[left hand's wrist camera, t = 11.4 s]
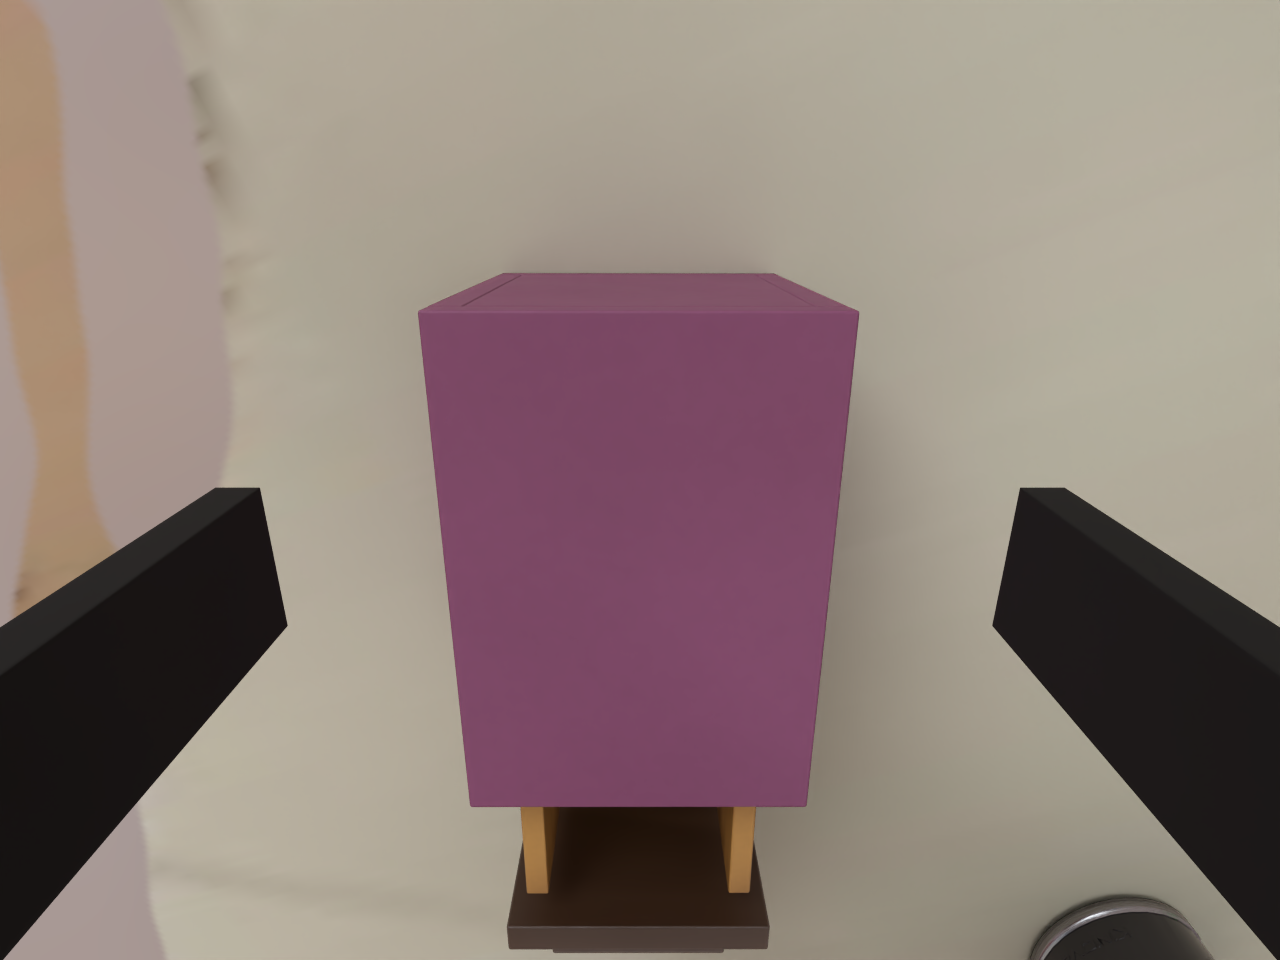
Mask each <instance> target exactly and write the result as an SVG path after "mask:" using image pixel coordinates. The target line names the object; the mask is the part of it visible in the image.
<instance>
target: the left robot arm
mask: <svg viewBox="0 0 1280 960" xmlns="http://www.w3.org/2000/svg"><path fill="white" fill-rule="evenodd" d="M287 626H288V625H287V620H286V615H285V610H284V605H283V600H282V596H281V591H280V586H279V581H278V576H277V571H276V566H275V561H274V556H273V551H272V546H271V541H270V536H269V531H268V526H267V521H266V516H265V511H264V506H263V501H262V496H261V491H260V488H214V489H213V490H211V491H210V492H208V493H207V494H205V495H203V496H202V497H200V498H199V499H197V500H196V501H194V502H193V503H191V504H190V505H188V506H187V507H185V508H183V509H182V510H181V511H179V512H177V513H176V514H174V515H173V516H171V517H170V518H168V519H167V520H165V521H163V522H162V523H160V524H159V525H157V526H156V527H154V528H153V529H151V530H150V531H148V532H147V533H145V534H143V535H142V536H140V537H139V538H137V539H136V540H134V541H133V542H131V543H130V544H128V545H126V546H125V547H123V548H122V549H120V550H119V551H117V552H116V553H114V554H113V555H111V556H109V557H108V558H106V559H105V560H103V561H102V562H100V563H99V564H97V565H96V566H94V567H93V568H91V569H89V570H88V571H86V572H85V573H83V574H82V575H80V576H79V577H77V578H76V579H74V580H73V581H71V582H69V583H68V584H66V585H65V586H63V587H62V588H60V589H59V590H57V591H56V592H54V593H52V594H51V595H49V596H48V597H46V598H45V599H43V600H42V601H40V602H39V603H37V604H36V605H34V606H32V607H31V608H29V609H28V610H26V611H25V612H23V613H22V614H20V615H19V616H17V617H16V618H14V619H12V620H11V621H9V622H8V623H6V624H5V625H3V626H2V627H0V960H3V959H4V958H5V957H6V956H7V954H8V953H9V952H10V951H11V950H12V948H13V947H14V946H15V945H16V944H17V943H18V942H19V940H20V939H21V938H22V937H23V936H24V935H25V933H26V932H27V931H28V930H29V929H30V927H31V926H32V925H33V924H34V923H35V922H36V920H37V919H38V918H39V917H40V916H41V915H42V913H43V912H44V911H45V910H46V909H47V908H48V906H49V905H50V904H51V903H52V902H53V900H54V899H55V898H56V897H57V896H58V895H59V893H60V892H61V891H62V890H63V889H64V888H65V886H66V885H67V884H68V883H69V882H70V880H71V879H72V878H73V877H74V876H75V875H76V873H77V872H78V871H79V870H80V869H81V868H82V866H83V865H84V864H85V863H86V862H87V861H88V859H89V858H90V857H91V856H92V855H93V853H94V852H95V851H96V850H97V849H98V848H99V847H100V845H101V844H102V843H103V842H104V841H105V839H106V838H107V837H108V836H109V835H110V834H111V832H112V831H113V830H114V829H115V828H116V827H117V825H118V824H119V823H120V822H121V821H122V820H123V818H124V817H125V816H126V815H127V814H128V812H129V811H130V810H131V809H132V808H133V807H134V805H135V804H136V803H137V802H138V801H139V800H140V798H141V797H142V796H143V795H144V794H145V793H146V791H147V790H148V789H149V788H150V787H151V785H152V784H153V783H154V782H155V781H156V780H157V778H158V777H159V776H160V775H161V774H162V773H163V771H164V770H165V769H166V768H167V767H168V766H169V764H170V763H171V762H172V761H173V760H174V758H175V757H176V756H177V755H178V754H179V753H180V751H181V750H182V749H183V748H184V747H185V746H186V744H187V743H188V742H189V741H190V740H191V739H192V737H193V736H194V735H195V734H196V733H197V731H198V730H199V729H200V728H201V727H202V726H203V724H204V723H205V722H206V721H207V720H208V719H209V717H210V716H211V715H212V714H213V713H214V712H215V710H216V709H217V708H218V707H219V706H220V705H221V703H222V702H223V701H224V700H225V699H226V697H227V696H228V695H229V694H230V693H231V692H232V690H233V689H234V688H235V687H236V686H237V685H238V683H239V682H240V681H241V680H242V679H243V678H244V676H245V675H246V674H247V673H248V672H249V670H250V669H251V668H252V667H253V666H254V665H255V663H256V662H257V661H258V660H259V659H260V658H261V656H262V655H263V654H264V653H265V652H266V651H267V649H268V648H269V647H270V646H271V645H272V643H273V642H274V641H275V640H276V639H277V638H278V636H279V635H280V634H281V633H282V632H283V631H284V629H285V628H286V627H287ZM992 626H993V627H994V628H995V629H996V631H997V632H998V633H999V634H1000V635H1001V636H1002V638H1003V639H1004V640H1005V641H1006V642H1007V643H1008V645H1009V646H1010V647H1011V648H1012V649H1013V651H1014V652H1015V653H1016V654H1017V655H1018V656H1019V658H1020V659H1021V660H1022V661H1023V662H1024V663H1025V665H1026V666H1027V667H1028V668H1029V669H1030V670H1031V672H1032V673H1033V674H1034V675H1035V676H1036V678H1037V679H1038V680H1039V681H1040V682H1041V683H1042V685H1043V686H1044V687H1045V688H1046V689H1047V690H1048V692H1049V693H1050V694H1051V695H1052V696H1053V697H1054V699H1055V700H1056V701H1057V702H1058V703H1059V705H1060V706H1061V707H1062V708H1063V709H1064V710H1065V712H1066V713H1067V714H1068V715H1069V716H1070V717H1071V719H1072V720H1073V721H1074V722H1075V723H1076V724H1077V726H1078V727H1079V728H1080V729H1081V730H1082V731H1083V733H1084V734H1085V735H1086V736H1087V737H1088V739H1089V740H1090V741H1091V742H1092V743H1093V744H1094V746H1095V747H1096V748H1097V749H1098V750H1099V751H1100V753H1101V754H1102V755H1103V756H1104V757H1105V758H1106V760H1107V761H1108V762H1109V763H1110V764H1111V766H1112V767H1113V768H1114V769H1115V770H1116V771H1117V773H1118V774H1119V775H1120V776H1121V777H1122V778H1123V780H1124V781H1125V782H1126V783H1127V784H1128V785H1129V787H1130V788H1131V789H1132V790H1133V791H1134V793H1135V794H1136V795H1137V796H1138V797H1139V798H1140V800H1141V801H1142V802H1143V803H1144V804H1145V805H1146V807H1147V808H1148V809H1149V810H1150V811H1151V812H1152V814H1153V815H1154V816H1155V817H1156V818H1157V820H1158V821H1159V822H1160V823H1161V824H1162V825H1163V827H1164V828H1165V829H1166V830H1167V831H1168V832H1169V834H1170V835H1171V836H1172V837H1173V838H1174V839H1175V841H1176V842H1177V843H1178V844H1179V845H1180V847H1181V848H1182V849H1183V850H1184V851H1185V852H1186V854H1187V855H1188V856H1189V857H1190V858H1191V859H1192V861H1193V862H1194V863H1195V864H1196V865H1197V866H1198V868H1199V869H1200V870H1201V871H1202V872H1203V874H1204V875H1205V876H1206V877H1207V878H1208V879H1209V881H1210V882H1211V883H1212V884H1213V885H1214V886H1215V888H1216V889H1217V890H1218V891H1219V892H1220V893H1221V895H1222V896H1223V897H1224V898H1225V899H1226V900H1227V902H1228V903H1229V904H1230V905H1231V906H1232V908H1233V909H1234V910H1235V911H1236V912H1237V913H1238V915H1239V916H1240V917H1241V918H1242V919H1243V920H1244V922H1245V923H1246V924H1247V925H1248V926H1249V927H1250V929H1251V930H1252V931H1253V932H1254V933H1255V935H1256V936H1257V937H1258V938H1259V939H1260V940H1261V942H1262V943H1263V944H1264V945H1265V946H1266V947H1267V949H1268V950H1269V951H1270V952H1271V953H1272V954H1273V956H1274V957H1275V958H1276V959H1277V960H1280V627H1278V626H1277V625H1275V624H1274V623H1272V622H1271V621H1269V620H1268V619H1266V618H1264V617H1263V616H1261V615H1260V614H1258V613H1257V612H1255V611H1254V610H1252V609H1251V608H1249V607H1248V606H1246V605H1244V604H1243V603H1241V602H1240V601H1238V600H1237V599H1235V598H1234V597H1232V596H1231V595H1229V594H1228V593H1226V592H1224V591H1223V590H1221V589H1220V588H1218V587H1217V586H1215V585H1214V584H1212V583H1211V582H1209V581H1207V580H1206V579H1204V578H1203V577H1201V576H1200V575H1198V574H1197V573H1195V572H1194V571H1192V570H1191V569H1189V568H1187V567H1186V566H1184V565H1183V564H1181V563H1180V562H1178V561H1177V560H1175V559H1174V558H1172V557H1171V556H1169V555H1167V554H1166V553H1164V552H1163V551H1161V550H1160V549H1158V548H1157V547H1155V546H1154V545H1152V544H1150V543H1149V542H1147V541H1146V540H1144V539H1143V538H1141V537H1140V536H1138V535H1137V534H1135V533H1134V532H1132V531H1130V530H1129V529H1127V528H1126V527H1124V526H1123V525H1121V524H1120V523H1118V522H1117V521H1115V520H1113V519H1112V518H1110V517H1109V516H1107V515H1106V514H1104V513H1103V512H1101V511H1100V510H1098V509H1097V508H1095V507H1093V506H1092V505H1090V504H1089V503H1087V502H1086V501H1084V500H1083V499H1081V498H1080V497H1078V496H1077V495H1075V494H1073V493H1072V492H1070V491H1069V490H1067V489H1066V488H1020V491H1019V496H1018V501H1017V506H1016V511H1015V516H1014V521H1013V526H1012V531H1011V536H1010V541H1009V546H1008V551H1007V556H1006V561H1005V566H1004V571H1003V576H1002V581H1001V586H1000V591H999V596H998V600H997V605H996V610H995V615H994V620H993V625H992Z"/></svg>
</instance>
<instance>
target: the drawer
mask: <svg viewBox="0 0 1280 960" xmlns="http://www.w3.org/2000/svg"><path fill="white" fill-rule="evenodd" d="M755 814H756V807H521V820H522V833H523V843H522V848H521V854H520V859H519V865H518V870H517V875H516V881H515V886H514V892H513V897H512V902H511V908H510V913H509V919H508V924H507V933H508V944H509V949H553V952H554V953H722V952H723V951H724V949H767V948H768V939H769V928H770V926H769V921H768V915H767V910H766V905H765V899H764V894H763V888H762V883H761V877H760V872H759V866H758V861H757V856H756V850H755V845H754V827H755Z"/></svg>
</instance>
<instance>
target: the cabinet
mask: <svg viewBox="0 0 1280 960" xmlns="http://www.w3.org/2000/svg"><path fill="white" fill-rule="evenodd" d="M418 317H419V327H420V336H421V346H422V355H423V365H424V374H425V383H426V393H427V402H428V412H429V421H430V431H431V440H432V449H433V459H434V468H435V478H436V487H437V497H438V506H439V516H440V525H441V534H442V544H443V553H444V563H445V572H446V582H447V591H448V601H449V610H450V619H451V629H452V638H453V648H454V657H455V667H456V676H457V686H458V695H459V704H460V714H461V723H462V733H463V742H464V752H465V761H466V770H467V780H468V789H469V799H470V806H471V807H805V806H806V805H807V796H808V786H809V777H810V768H811V758H812V749H813V740H814V730H815V721H816V712H817V702H818V693H819V684H820V674H821V665H822V656H823V646H824V637H825V628H826V618H827V609H828V600H829V590H830V581H831V572H832V562H833V553H834V544H835V534H836V525H837V516H838V506H839V497H840V488H841V478H842V469H843V460H844V451H845V441H846V432H847V423H848V413H849V404H850V395H851V385H852V376H853V367H854V357H855V348H856V339H857V329H858V320H859V311H857V310H854V309H852V308H850V307H847V306H845V305H843V304H841V303H838V302H836V301H834V300H832V299H829V298H827V297H825V296H823V295H820V294H818V293H816V292H814V291H811V290H809V289H807V288H805V287H802V286H800V285H798V284H796V283H794V282H791V281H789V280H787V279H785V278H782V277H780V276H778V275H776V274H641V273H503V274H501V275H498V276H496V277H493V278H491V279H489V280H487V281H484V282H482V283H480V284H477V285H475V286H473V287H471V288H468V289H466V290H464V291H462V292H459V293H457V294H455V295H453V296H450V297H448V298H446V299H443V300H441V301H439V302H437V303H434V304H432V305H430V306H428V307H426V308H424V309H422V310H420V311H419V312H418Z"/></svg>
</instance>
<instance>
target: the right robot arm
mask: <svg viewBox="0 0 1280 960" xmlns="http://www.w3.org/2000/svg"><path fill="white" fill-rule="evenodd" d="M1031 960H1215V959H1214V958H1213V957H1212V955H1211V954H1210V953H1209V951H1208V950H1207V949H1206V948H1205V946H1204V945H1203V944H1202V942H1201V939H1200V938H1199V936H1198V934H1197V933H1196V932H1195V930H1194V929H1193V928H1192V926H1191V925H1190V924H1189V922H1188V921H1187V920H1186V919H1185V917H1184V916H1183V915H1182V914H1181V913H1179V912H1178V911H1177V910H1175V909H1174V908H1172V907H1170V906H1168V905H1166V904H1164V903H1161V902H1158V901H1154V900H1150V899H1143V898H1117V899H1110V900H1105V901H1101V902H1097V903H1093V904H1091V905H1088V906H1085V907H1082V908H1080V909H1078V910H1076V911H1074V912H1072V913H1070V914H1068V915H1067V916H1065V917H1063V918H1062V919H1060V920H1059V921H1057V922H1056V923H1055V924H1054V925H1053V926H1051V927H1050V928H1049V929H1048V930H1047V931H1046V932H1045V933H1044V935H1043V936H1042V937H1041V938H1040V940H1039V941H1038V943H1037V944H1036V946H1035V948H1034V950H1033V953H1032V956H1031Z"/></svg>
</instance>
